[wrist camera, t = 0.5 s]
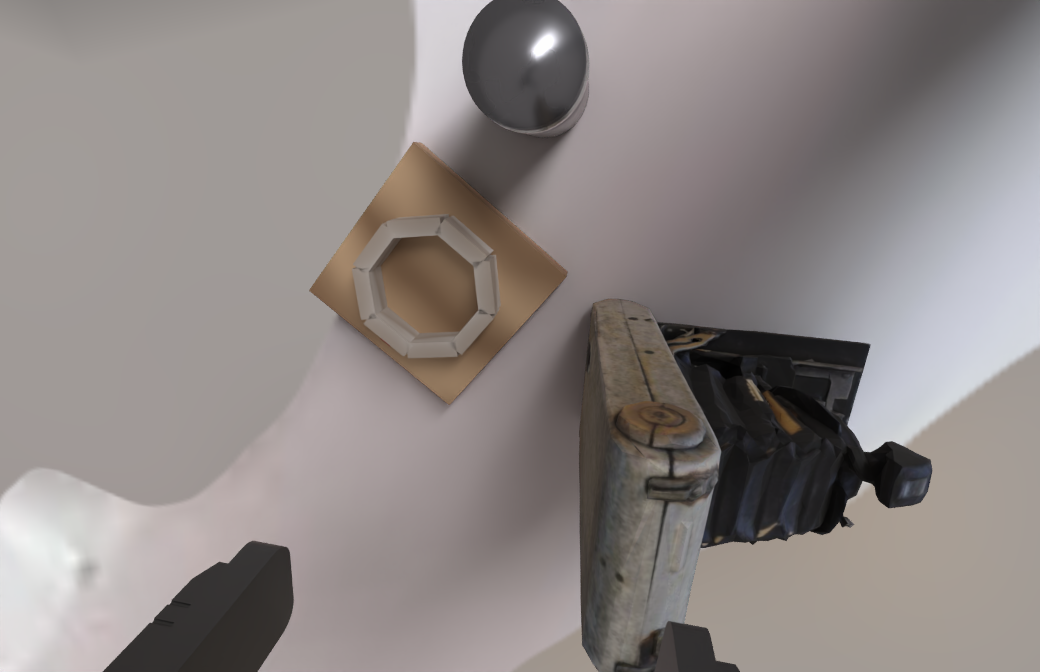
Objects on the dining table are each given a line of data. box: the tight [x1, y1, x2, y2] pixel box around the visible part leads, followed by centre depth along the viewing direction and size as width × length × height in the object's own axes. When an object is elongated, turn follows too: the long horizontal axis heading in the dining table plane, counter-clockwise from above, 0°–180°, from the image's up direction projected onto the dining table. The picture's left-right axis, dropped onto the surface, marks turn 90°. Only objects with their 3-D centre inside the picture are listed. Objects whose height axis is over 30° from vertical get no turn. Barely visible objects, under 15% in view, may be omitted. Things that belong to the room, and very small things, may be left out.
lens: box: [462, 0, 589, 138], centre depth 26 cm, size 5×5×10 cm
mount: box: [310, 142, 568, 405], centre depth 33 cm, size 12×12×4 cm
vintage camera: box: [579, 299, 932, 672], centre depth 26 cm, size 10×16×20 cm, turn 86°
